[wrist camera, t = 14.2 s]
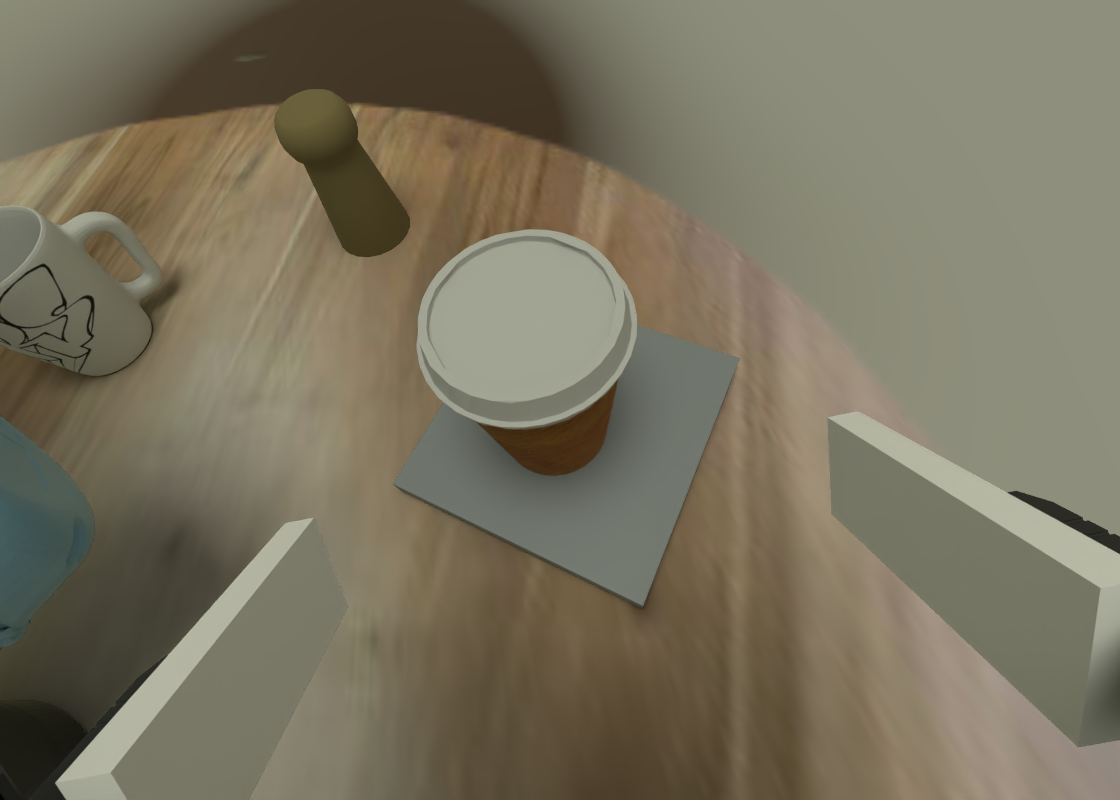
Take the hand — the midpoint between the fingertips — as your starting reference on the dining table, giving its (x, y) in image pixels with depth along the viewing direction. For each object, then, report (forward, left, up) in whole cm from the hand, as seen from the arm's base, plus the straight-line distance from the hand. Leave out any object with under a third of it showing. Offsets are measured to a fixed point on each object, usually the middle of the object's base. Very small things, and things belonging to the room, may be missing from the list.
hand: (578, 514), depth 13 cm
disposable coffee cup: (-6, +7, -16) cm, 19 cm away
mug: (-42, +2, -18) cm, 46 cm away
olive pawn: (-29, +18, -18) cm, 38 cm away
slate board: (-6, +8, -17) cm, 20 cm away
